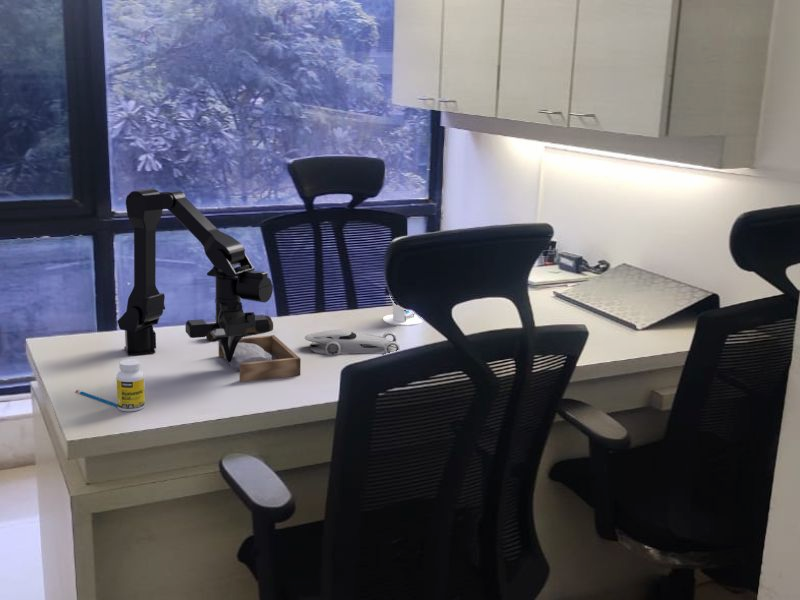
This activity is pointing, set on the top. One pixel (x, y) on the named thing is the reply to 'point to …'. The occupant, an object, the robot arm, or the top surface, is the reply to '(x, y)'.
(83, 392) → the pencil
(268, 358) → the stone block
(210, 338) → the brown wooden log
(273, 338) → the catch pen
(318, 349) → the car model
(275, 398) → the top surface
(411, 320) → the white upright piece
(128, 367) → the supplement bottle
